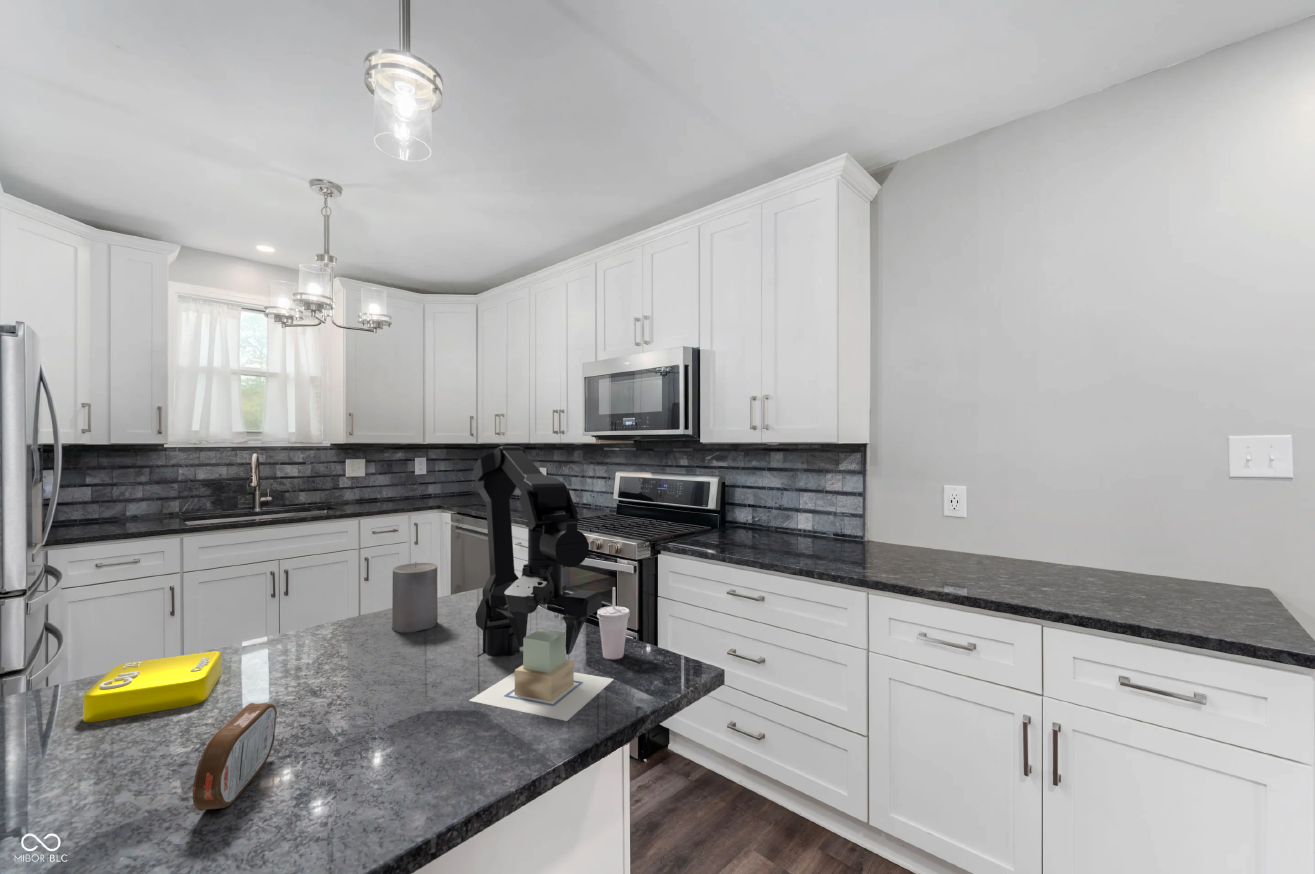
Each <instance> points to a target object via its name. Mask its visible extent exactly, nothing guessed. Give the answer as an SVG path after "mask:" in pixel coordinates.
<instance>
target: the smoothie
mask: <svg viewBox="0 0 1315 874" xmlns="http://www.w3.org/2000/svg"><path fill="white" fill-rule="evenodd" d="M596 612H597V614H596V617H597V618H598V623H599V632H600V641H601V649H602V650H601V651H602V657H603V658H604V659H606V660H620V659H621V658H623V657H624V653H625V645H626V636H627V631H628V630H627V629H628V620H629V617H630V615H631V614H630V609H629V608H627V607H624V606H618V605H616V587H615V586H613V587H612V606H611V605H610V606H604V607H602V608H601V609H599V610H597V611H596Z"/></svg>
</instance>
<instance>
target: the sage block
mask: <svg viewBox="0 0 1315 874" xmlns="http://www.w3.org/2000/svg"><path fill="white" fill-rule="evenodd" d="M565 645H566V631H565V632H564V631H559V630H558V631H557V630H553V629H552V630H551V629H545V628H543V629H542V628H539V629H538V630H535V631H533V632H532V633H530V634H528V635H526V637H524V638H523V647H522V648H523V650H522V651H523V653H522V655H523V656H522V658H523V659H522V660H523V661H522V662H523V663H522V665H523V669H529V670H535V671H540V672H546V673H550V672H552V671H553V670H554V669H556V668H557V667H559V666H560V665H562V664H563V663H565V659H566V646H565Z"/></svg>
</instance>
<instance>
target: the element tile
mask: <svg viewBox="0 0 1315 874" xmlns="http://www.w3.org/2000/svg"><path fill="white" fill-rule="evenodd" d="M222 663H223V653H222V652H220V651H218V650H214V651H213V650H212V651H205V652H198V653H192V654H191V653H190V654H185V655H184V654H183V655H177V656H176V655H175V656H168V657H161V658H153V659H147V660H139V661H131V662H125V663H120V664H118V665H116V666H115V667H112V668H111V669H110V670H109V671H108V672H107V673H106V674H105V675H104V676H103V677H101V678H100V679H99V680H98V681H96V683H95V684H94V685H92V686H91V687H90V688H89V689H88V690H87V691H85V693H84V694H83V698H82V721H83V722H84V723H95V722H102V721H108V720H114V719H119V718H126V717H133V716H138V715H144V714H148V713H155V712H160V711H167V710H172V709H177V708H184V707H185V708H186V707H189V706H193V705H197V704H200V703H203V702H204V701H205V700H207V699H208V698H209V696H210V694H211V693H212V691H213V690H214V688H215V686H216V684H217V683H218V681H219V679H220V677H221V676H222V666H223V664H222Z"/></svg>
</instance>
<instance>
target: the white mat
mask: <svg viewBox="0 0 1315 874" xmlns="http://www.w3.org/2000/svg"><path fill="white" fill-rule="evenodd" d="M613 681H614V678H610V677H604V676H599V675H598V676H597V675H591V674H585V673H580V672H575V671H574V684H573V685H572V686H571V687H569V688H568V689H567V690H566V691H564V692H563V693H562V694H561V695H559V696H558V697H557V698H555V699H554V700H553V701H552V702H551V701H546V700H540V699H535V698H530V697H525V696H520V695H515V671H514V672H512V673H510V674H508V675H507V676H506V677H504V678H503V679H500V681H498V682H496V683H495V684H493V685H491V686H490V687H488V688H486V689H485V690H483V691H482V692H480V693H478V694H477V695H475V696H474V697H472V698H471V699H469V700H468V701H469V702H473V703H478V704H483V705H488V706H492V707H496V708H497V707H498V708H501V709H507V710H512V711H516V712H522V713H526V714H531V715H536V716H540V717H546V718H550V719H555V720H559V721H565V722H568V721H569V720H570V719H572V717H574V716H575V714H577V713H578V712H579V711H580V710H581V709H583V707H585V705H587V704H589V702H590V701H592V700H593V698H595V697H596V696H597V695H598V694H599V693H601V691H602V690H604V689H605V688H607V686H608V685H609V684H611V683H612V682H613Z"/></svg>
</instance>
